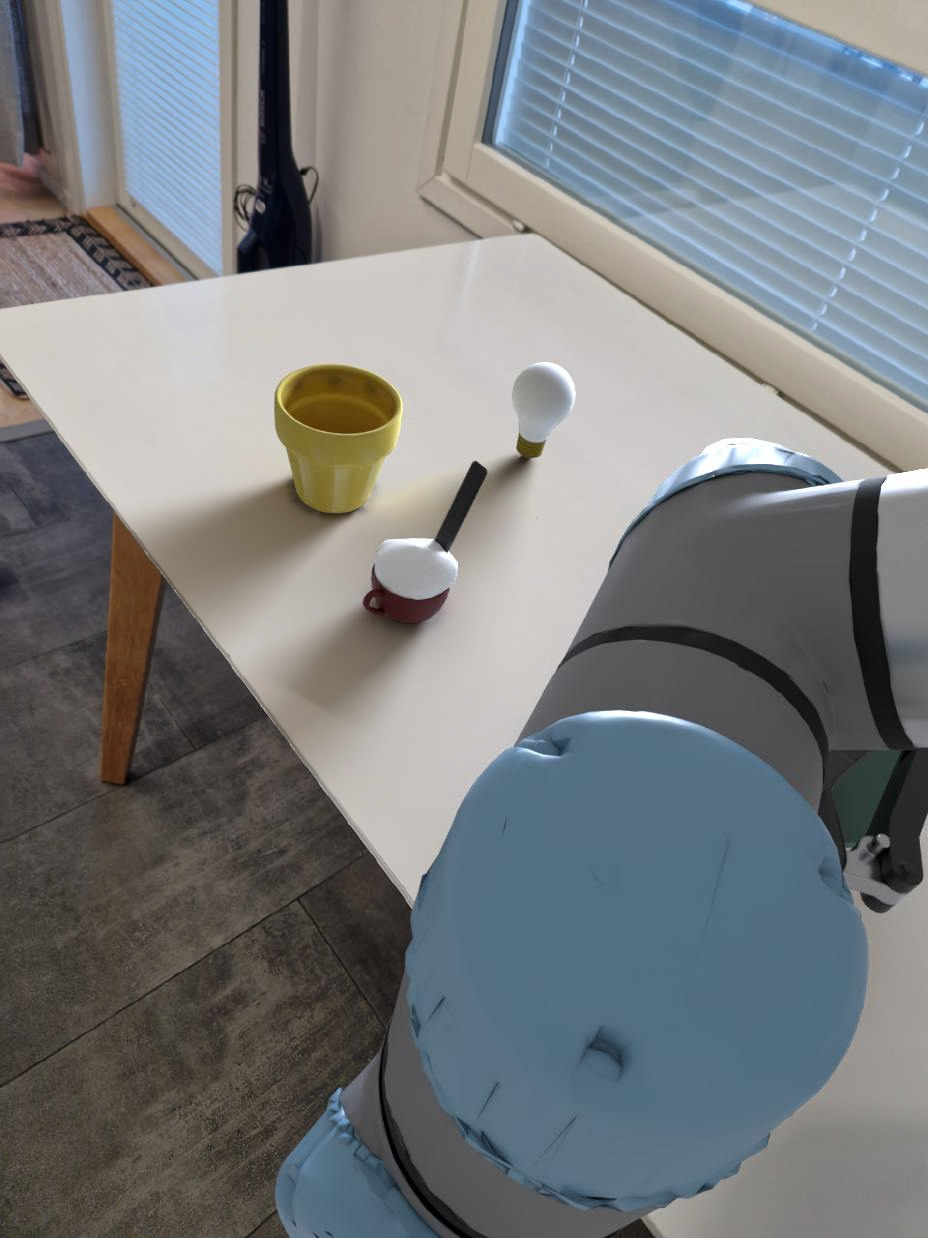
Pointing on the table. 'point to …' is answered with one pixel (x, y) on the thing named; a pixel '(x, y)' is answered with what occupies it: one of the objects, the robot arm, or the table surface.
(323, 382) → the flower pot
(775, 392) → the table surface
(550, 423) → the light bulb
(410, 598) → the cocoa
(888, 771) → the lid
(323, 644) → the table surface
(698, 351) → the table surface
